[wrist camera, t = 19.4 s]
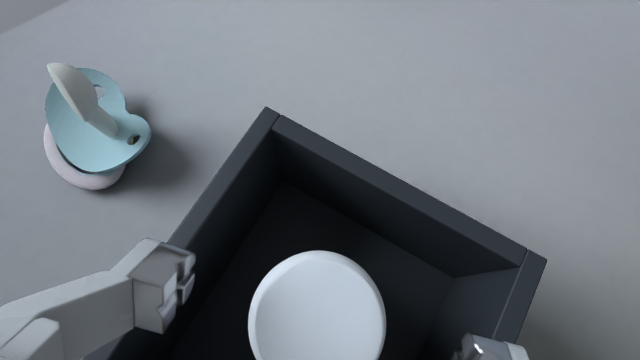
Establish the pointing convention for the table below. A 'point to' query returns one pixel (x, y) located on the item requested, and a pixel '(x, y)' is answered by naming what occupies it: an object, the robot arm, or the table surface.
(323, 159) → the bin
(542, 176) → the table surface
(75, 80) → the pacifier
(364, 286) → the pill bottle
